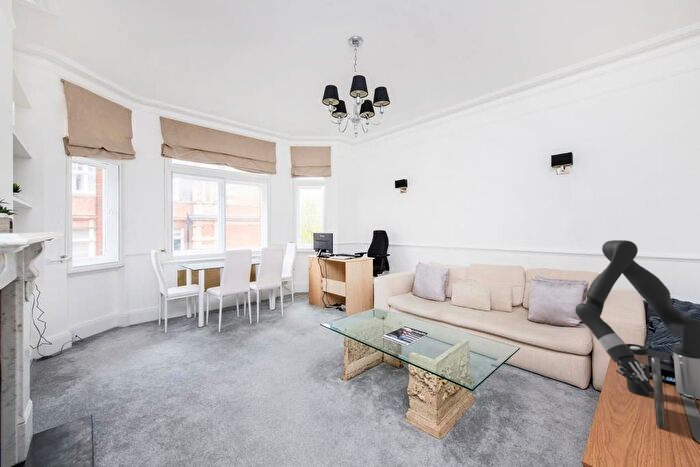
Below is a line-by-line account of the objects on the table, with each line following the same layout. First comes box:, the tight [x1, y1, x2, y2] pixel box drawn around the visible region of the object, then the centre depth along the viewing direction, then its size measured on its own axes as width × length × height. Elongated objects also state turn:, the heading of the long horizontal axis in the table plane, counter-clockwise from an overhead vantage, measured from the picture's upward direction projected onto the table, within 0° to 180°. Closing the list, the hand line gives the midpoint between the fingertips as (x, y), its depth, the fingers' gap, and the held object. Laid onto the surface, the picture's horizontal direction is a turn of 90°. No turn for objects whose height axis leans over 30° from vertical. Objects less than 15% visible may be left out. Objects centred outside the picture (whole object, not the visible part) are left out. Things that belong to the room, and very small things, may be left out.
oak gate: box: [651, 373, 667, 429], centre depth 111 cm, size 15×2×18 cm, turn 135°
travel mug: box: [625, 343, 651, 397], centre depth 130 cm, size 8×8×20 cm
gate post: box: [650, 356, 662, 404], centre depth 118 cm, size 2×2×20 cm
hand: (651, 392), depth 108 cm, fingers closed
